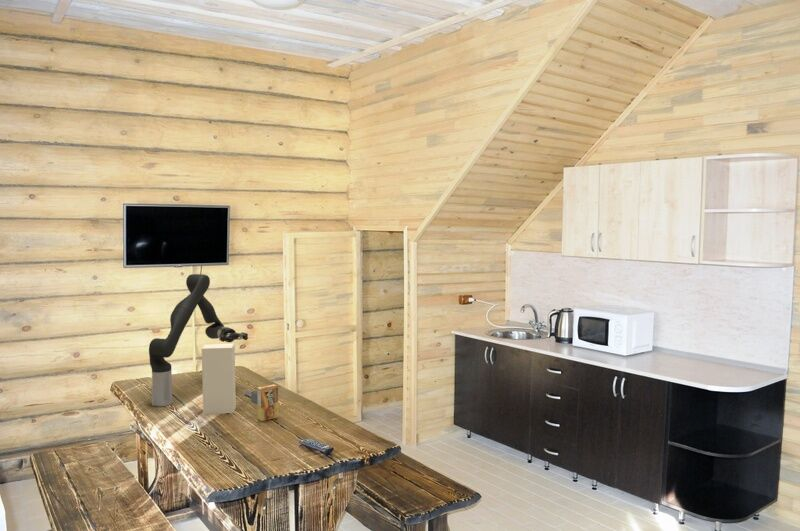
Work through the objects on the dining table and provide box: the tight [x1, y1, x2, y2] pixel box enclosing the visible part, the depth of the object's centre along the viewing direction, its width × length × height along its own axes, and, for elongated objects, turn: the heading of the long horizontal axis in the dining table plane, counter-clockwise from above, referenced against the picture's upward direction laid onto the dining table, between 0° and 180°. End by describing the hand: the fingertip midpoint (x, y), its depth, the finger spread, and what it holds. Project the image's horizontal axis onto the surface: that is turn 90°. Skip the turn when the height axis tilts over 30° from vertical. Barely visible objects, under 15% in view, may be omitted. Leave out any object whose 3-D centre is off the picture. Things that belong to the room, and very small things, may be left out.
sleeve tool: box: [243, 388, 258, 405], centre depth 327 cm, size 6×19×5 cm, turn 38°
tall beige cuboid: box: [201, 342, 237, 415], centre depth 306 cm, size 14×10×32 cm
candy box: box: [256, 384, 279, 422], centre depth 296 cm, size 9×4×15 cm, turn 129°
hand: (239, 339), depth 331 cm, fingers open, 8 cm apart
